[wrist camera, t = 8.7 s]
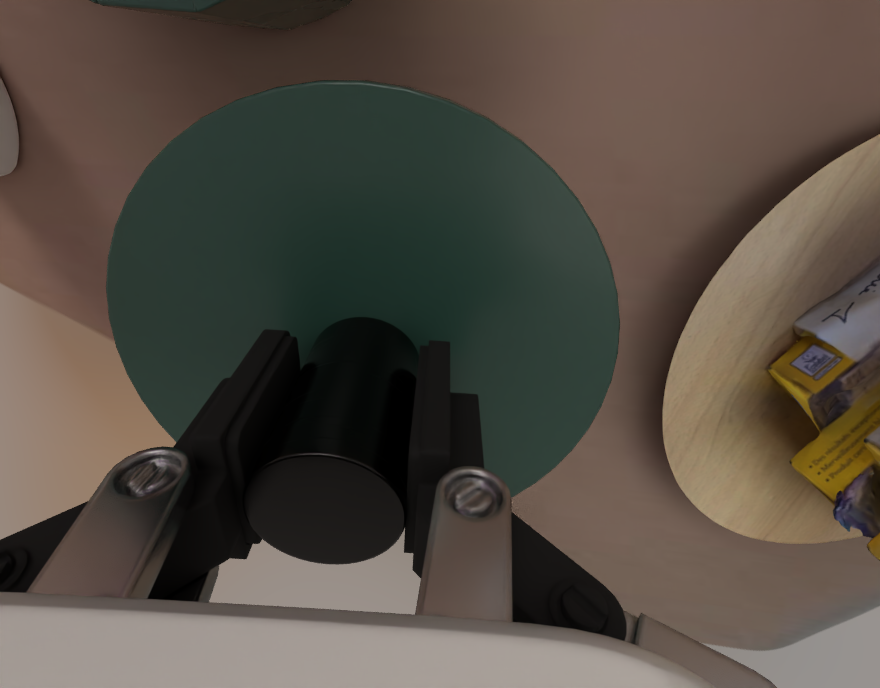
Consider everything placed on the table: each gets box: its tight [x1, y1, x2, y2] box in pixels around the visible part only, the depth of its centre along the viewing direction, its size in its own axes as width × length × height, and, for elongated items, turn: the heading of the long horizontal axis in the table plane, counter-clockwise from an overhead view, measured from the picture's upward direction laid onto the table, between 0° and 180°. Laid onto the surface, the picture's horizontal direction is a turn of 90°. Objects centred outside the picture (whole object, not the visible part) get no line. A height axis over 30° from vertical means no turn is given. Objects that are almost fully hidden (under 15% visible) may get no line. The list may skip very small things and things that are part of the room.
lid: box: [106, 80, 620, 564], centre depth 11 cm, size 14×14×6 cm
